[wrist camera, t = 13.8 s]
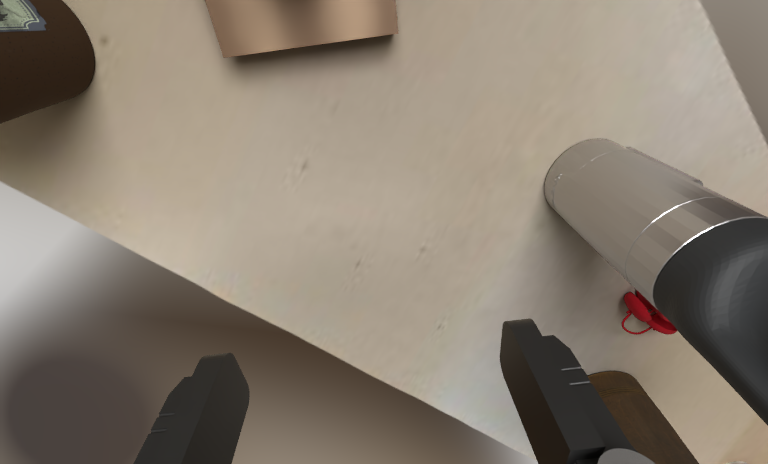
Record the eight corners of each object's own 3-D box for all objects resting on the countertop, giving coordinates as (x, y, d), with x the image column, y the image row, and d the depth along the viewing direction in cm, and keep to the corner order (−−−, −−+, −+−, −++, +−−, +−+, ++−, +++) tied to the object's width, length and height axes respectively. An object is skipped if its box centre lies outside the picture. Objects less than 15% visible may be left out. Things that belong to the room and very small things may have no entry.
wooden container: (539, 418, 66) (613, 579, 47) (578, 366, 58) (684, 532, 40) (608, 422, 68) (705, 576, 50) (654, 373, 61) (787, 532, 42)
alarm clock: (759, 280, 46) (679, 366, 49) (709, 260, 52) (639, 338, 55) (719, 245, 42) (635, 340, 45) (670, 227, 48) (598, 313, 51)
